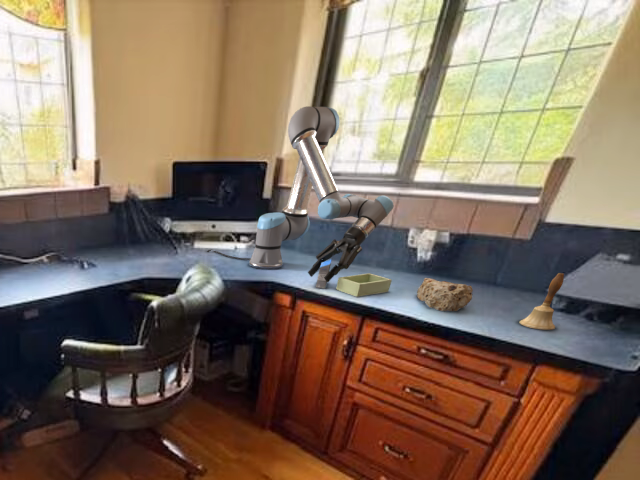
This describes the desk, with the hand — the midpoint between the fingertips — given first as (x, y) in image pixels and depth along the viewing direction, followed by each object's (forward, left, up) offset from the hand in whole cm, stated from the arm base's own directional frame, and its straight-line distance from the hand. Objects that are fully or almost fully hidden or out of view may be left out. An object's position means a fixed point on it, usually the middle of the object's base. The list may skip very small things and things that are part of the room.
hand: (317, 277), depth 169 cm
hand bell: (+61, +31, -4) cm, 68 cm away
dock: (+12, +12, -4) cm, 17 cm away
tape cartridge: (0, +3, -4) cm, 5 cm away
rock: (+35, +25, -4) cm, 43 cm away
